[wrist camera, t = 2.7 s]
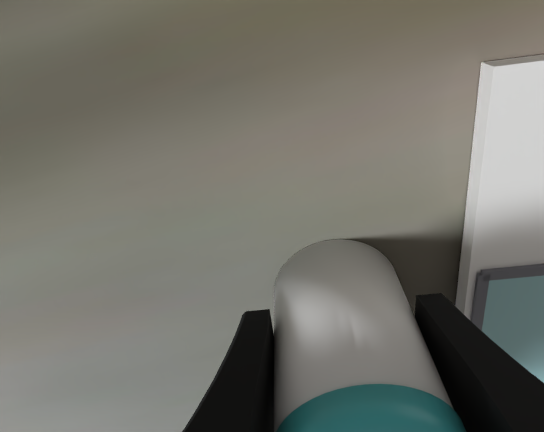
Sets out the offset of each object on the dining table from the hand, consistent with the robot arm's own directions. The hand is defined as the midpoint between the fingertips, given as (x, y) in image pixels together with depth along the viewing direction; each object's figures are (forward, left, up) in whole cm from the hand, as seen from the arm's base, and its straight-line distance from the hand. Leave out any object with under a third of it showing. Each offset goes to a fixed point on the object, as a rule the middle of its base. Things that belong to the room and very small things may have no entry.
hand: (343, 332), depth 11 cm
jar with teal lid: (0, 0, -2) cm, 2 cm away
